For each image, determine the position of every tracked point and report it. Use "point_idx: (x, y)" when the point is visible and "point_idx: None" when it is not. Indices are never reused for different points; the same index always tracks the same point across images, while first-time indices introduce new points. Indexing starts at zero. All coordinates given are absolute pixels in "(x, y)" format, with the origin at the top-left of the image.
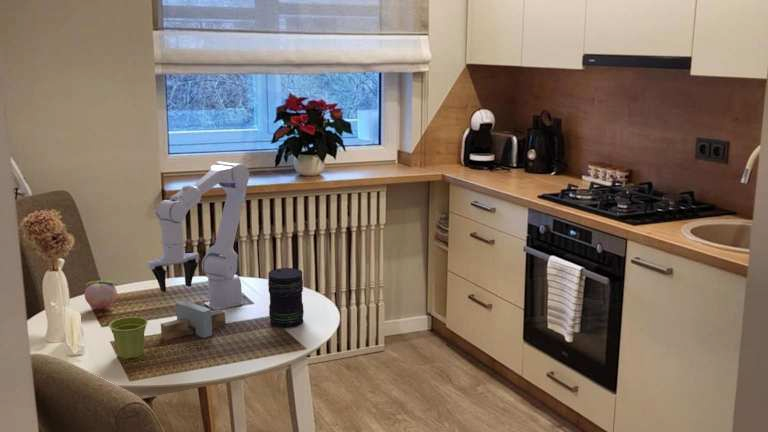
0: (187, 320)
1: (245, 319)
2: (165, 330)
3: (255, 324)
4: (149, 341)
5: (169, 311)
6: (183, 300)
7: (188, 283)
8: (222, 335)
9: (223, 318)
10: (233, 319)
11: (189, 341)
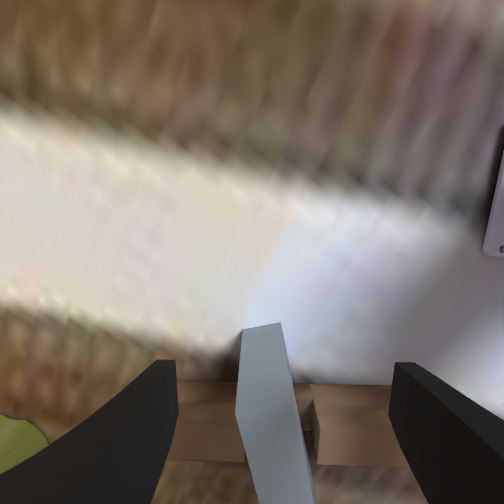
0: (244, 457)
1: (499, 409)
2: None
3: None
4: (100, 385)
5: (313, 99)
6: (291, 405)
7: (401, 436)
8: (335, 482)
9: None
10: (466, 382)
11: (219, 462)
